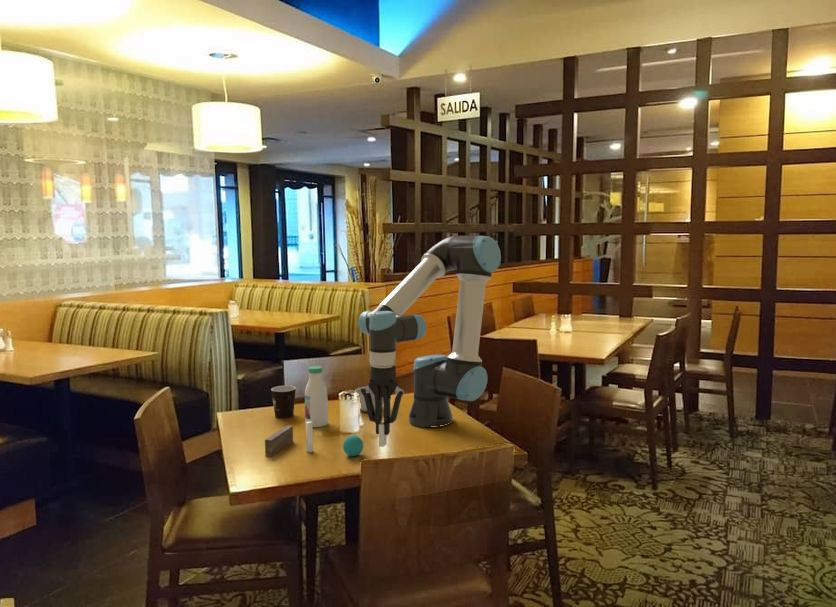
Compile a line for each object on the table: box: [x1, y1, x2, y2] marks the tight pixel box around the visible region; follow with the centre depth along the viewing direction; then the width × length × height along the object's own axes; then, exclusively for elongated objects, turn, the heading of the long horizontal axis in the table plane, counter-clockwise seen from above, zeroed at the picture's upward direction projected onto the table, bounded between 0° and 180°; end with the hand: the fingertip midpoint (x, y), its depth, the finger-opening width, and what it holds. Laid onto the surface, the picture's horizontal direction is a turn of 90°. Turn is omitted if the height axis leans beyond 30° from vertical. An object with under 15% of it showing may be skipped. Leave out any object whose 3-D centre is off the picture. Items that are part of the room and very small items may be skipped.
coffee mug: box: [270, 385, 297, 420], centre depth 226 cm, size 12×9×10 cm
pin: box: [305, 421, 314, 454], centre depth 191 cm, size 2×2×9 cm
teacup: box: [354, 386, 384, 413], centre depth 236 cm, size 14×11×8 cm
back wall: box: [264, 425, 294, 458], centre depth 194 cm, size 2×14×5 cm, turn 165°
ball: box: [342, 434, 364, 457], centre depth 187 cm, size 6×6×6 cm
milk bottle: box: [304, 365, 329, 428], centre depth 217 cm, size 8×8×20 cm
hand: (382, 445), depth 185 cm, fingers closed
